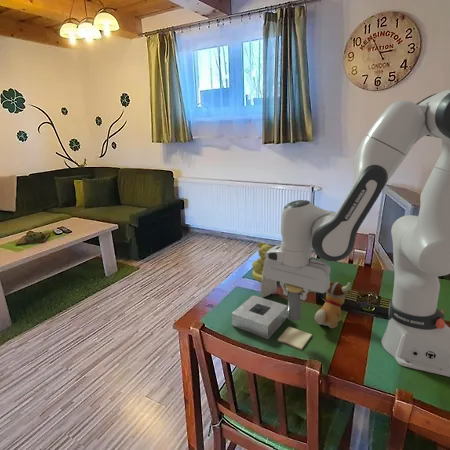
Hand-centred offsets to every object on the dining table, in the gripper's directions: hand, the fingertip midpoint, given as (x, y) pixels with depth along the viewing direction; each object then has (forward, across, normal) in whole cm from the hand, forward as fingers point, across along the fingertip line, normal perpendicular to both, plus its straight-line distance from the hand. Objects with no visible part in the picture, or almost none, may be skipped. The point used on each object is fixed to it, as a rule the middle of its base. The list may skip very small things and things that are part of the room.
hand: (294, 296), depth 100 cm
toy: (+15, -6, -14) cm, 22 cm away
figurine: (+15, +29, -35) cm, 48 cm away
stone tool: (+15, +20, -19) cm, 31 cm away
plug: (+7, 0, 0) cm, 7 cm away
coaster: (+15, 0, 0) cm, 15 cm away
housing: (+15, +14, -2) cm, 21 cm away
